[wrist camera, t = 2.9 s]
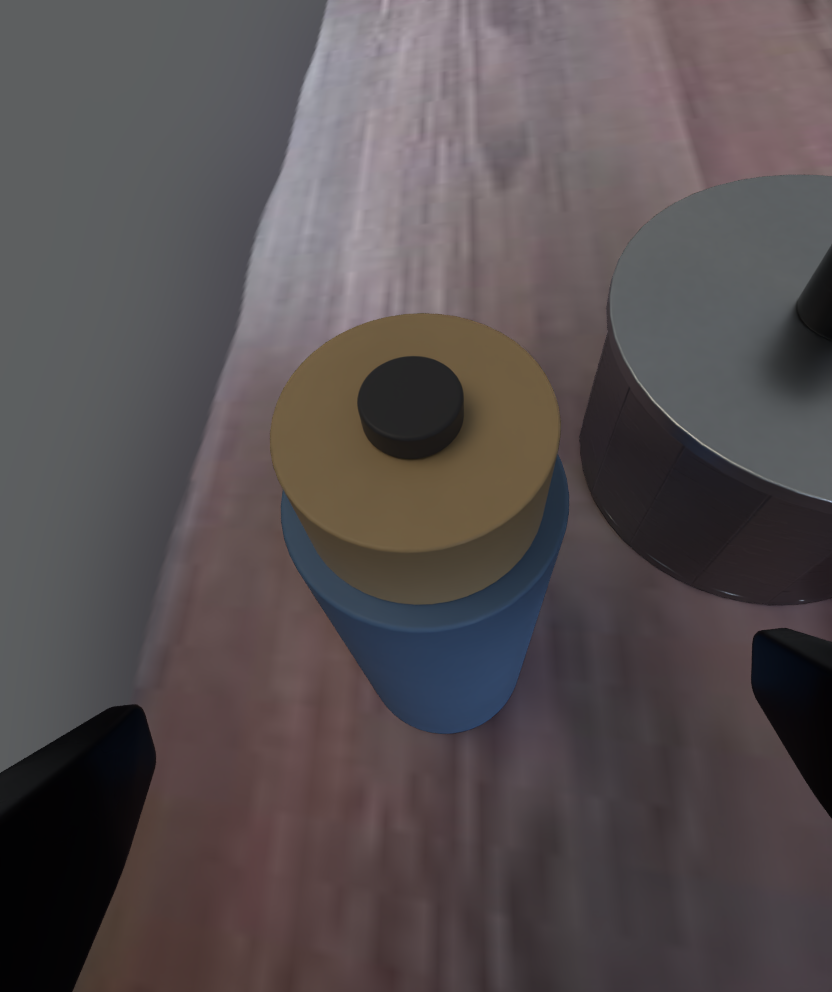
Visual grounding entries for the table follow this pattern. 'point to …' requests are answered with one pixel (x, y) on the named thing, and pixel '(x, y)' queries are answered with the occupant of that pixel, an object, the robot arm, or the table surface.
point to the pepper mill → (424, 506)
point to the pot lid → (736, 330)
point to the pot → (696, 507)
